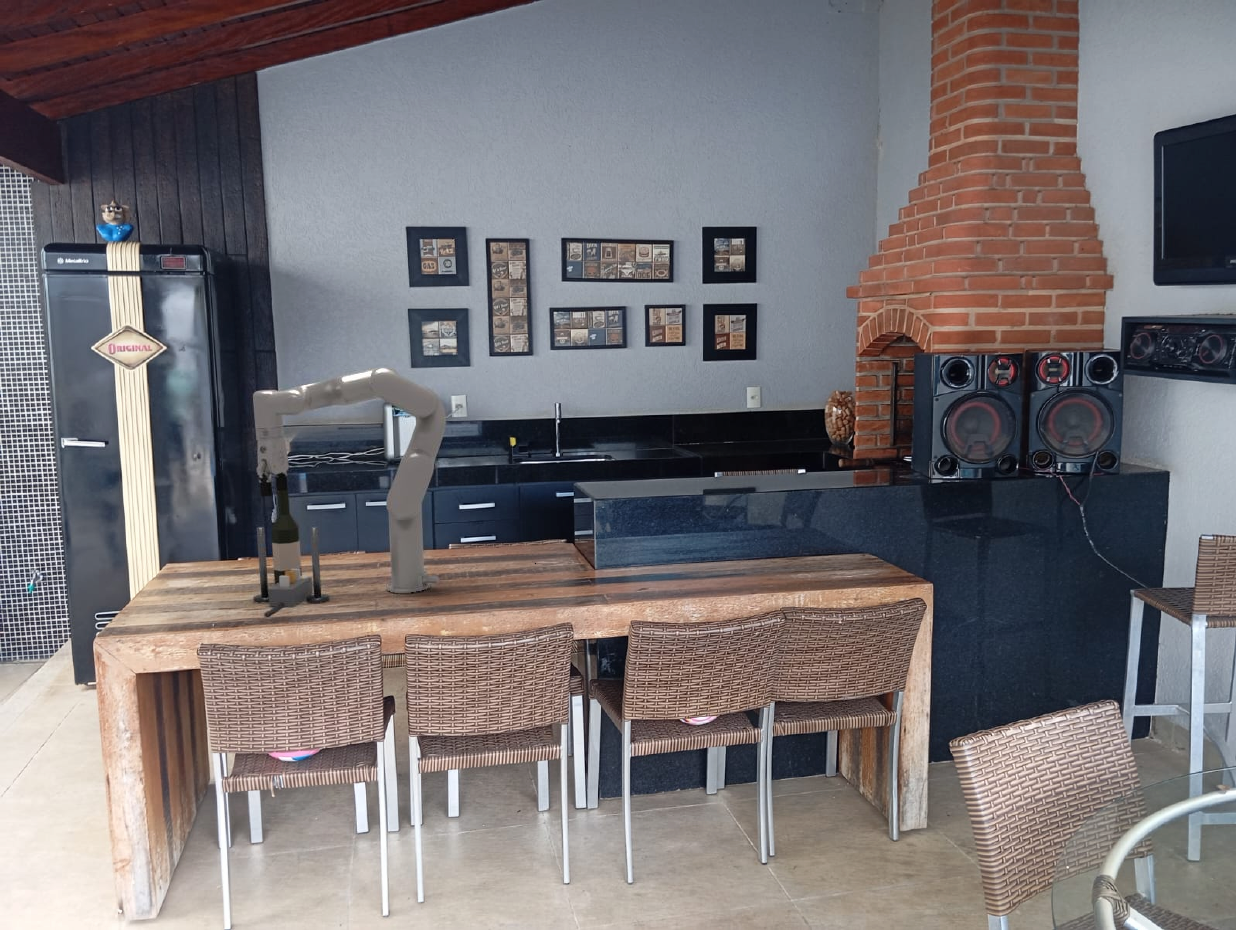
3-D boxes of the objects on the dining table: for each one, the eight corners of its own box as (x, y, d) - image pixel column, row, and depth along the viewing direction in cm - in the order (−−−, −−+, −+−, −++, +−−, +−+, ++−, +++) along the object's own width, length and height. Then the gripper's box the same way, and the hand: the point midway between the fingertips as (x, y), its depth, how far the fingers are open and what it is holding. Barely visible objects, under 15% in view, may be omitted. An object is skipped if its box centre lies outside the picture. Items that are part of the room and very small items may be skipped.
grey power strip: (312, 593, 314) (311, 566, 313) (279, 616, 290) (277, 587, 289) (289, 593, 314) (288, 566, 313) (254, 616, 291) (252, 587, 290)
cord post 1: (280, 597, 311) (276, 525, 308) (271, 603, 304) (266, 530, 301) (259, 597, 311) (254, 525, 308) (249, 602, 305) (244, 530, 302)
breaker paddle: (295, 581, 307) (294, 571, 306) (293, 582, 306) (293, 572, 305) (287, 581, 307) (286, 571, 307) (285, 582, 306) (284, 572, 305)
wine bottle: (294, 584, 325) (288, 486, 321) (268, 584, 326) (262, 486, 322) (307, 578, 333) (301, 482, 329) (282, 577, 335) (276, 481, 330)
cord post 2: (332, 597, 309) (328, 525, 306) (324, 603, 303) (320, 530, 300) (311, 597, 310) (307, 525, 307) (302, 603, 303) (298, 530, 301)
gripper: (268, 437, 297) (273, 498, 299) (295, 430, 314) (300, 488, 316) (242, 437, 298) (248, 498, 300) (271, 430, 315) (275, 488, 317)
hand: (274, 493), depth 308 cm, fingers open, 9 cm apart
